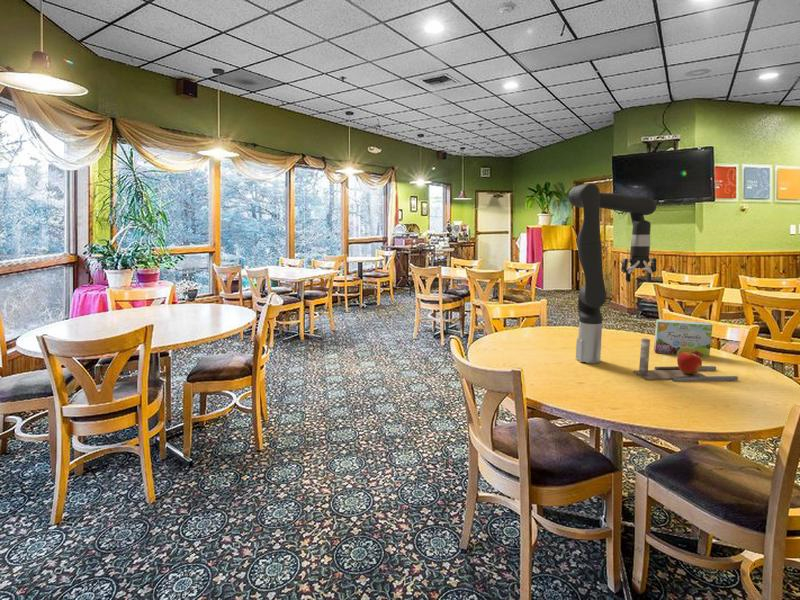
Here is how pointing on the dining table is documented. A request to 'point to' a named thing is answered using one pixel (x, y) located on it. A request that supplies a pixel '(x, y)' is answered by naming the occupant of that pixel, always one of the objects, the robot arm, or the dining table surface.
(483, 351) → the dining table surface
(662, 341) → the snack box
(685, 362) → the apple
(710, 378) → the lane rails
